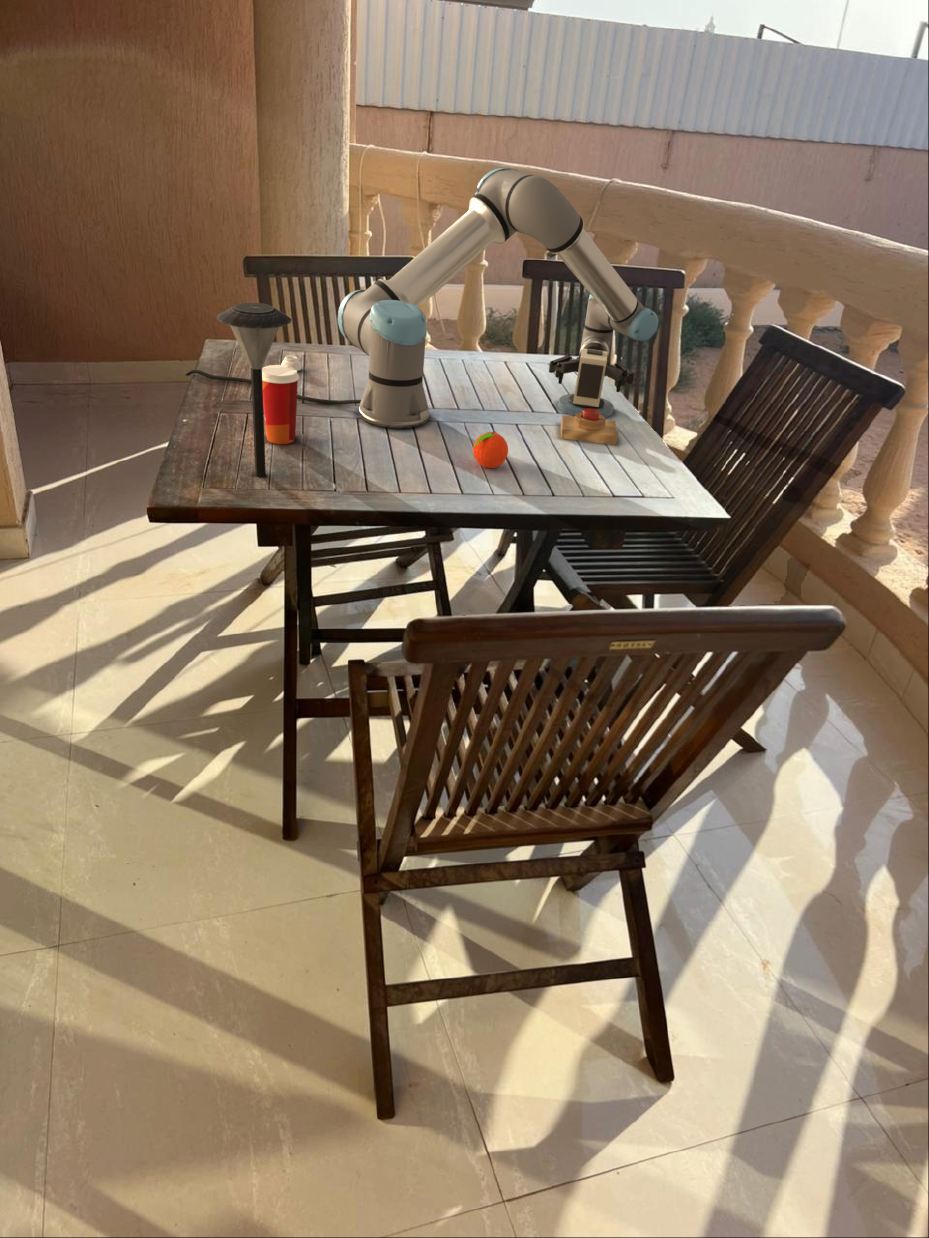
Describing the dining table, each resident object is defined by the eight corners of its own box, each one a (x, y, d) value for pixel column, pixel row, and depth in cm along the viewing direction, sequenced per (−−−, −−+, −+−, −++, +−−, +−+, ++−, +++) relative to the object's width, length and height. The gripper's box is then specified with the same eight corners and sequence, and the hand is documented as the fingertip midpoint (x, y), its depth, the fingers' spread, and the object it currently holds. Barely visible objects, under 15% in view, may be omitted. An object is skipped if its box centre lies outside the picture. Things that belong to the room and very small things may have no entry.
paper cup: (285, 429, 181) (284, 361, 173) (307, 441, 177) (307, 372, 169) (253, 436, 176) (250, 367, 168) (275, 449, 172) (273, 379, 164)
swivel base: (558, 415, 203) (559, 408, 202) (557, 397, 214) (558, 391, 213) (614, 421, 203) (615, 415, 202) (610, 403, 214) (611, 397, 213)
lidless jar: (305, 371, 214) (294, 365, 216) (305, 359, 212) (294, 353, 215) (288, 374, 211) (276, 368, 213) (287, 361, 209) (276, 356, 212)
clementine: (483, 477, 169) (487, 442, 165) (460, 465, 173) (463, 430, 170) (513, 469, 174) (517, 435, 170) (489, 457, 178) (493, 423, 174)
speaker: (570, 393, 211) (577, 345, 205) (604, 398, 211) (613, 350, 204) (567, 405, 204) (575, 355, 198) (603, 410, 203) (612, 360, 197)
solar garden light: (298, 487, 158) (296, 318, 142) (228, 490, 155) (218, 316, 138) (290, 460, 168) (287, 299, 152) (224, 462, 164) (213, 297, 148)
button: (582, 420, 191) (583, 413, 190) (582, 415, 194) (583, 407, 193) (598, 422, 191) (600, 414, 190) (598, 417, 194) (599, 409, 193)
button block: (560, 438, 191) (563, 421, 188) (560, 424, 198) (563, 407, 196) (615, 445, 190) (619, 427, 188) (613, 430, 198) (616, 413, 196)
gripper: (640, 379, 220) (640, 405, 203) (542, 365, 223) (534, 390, 205) (646, 349, 216) (647, 373, 199) (546, 335, 219) (538, 358, 201)
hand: (589, 382), depth 202 cm, fingers open, 13 cm apart
